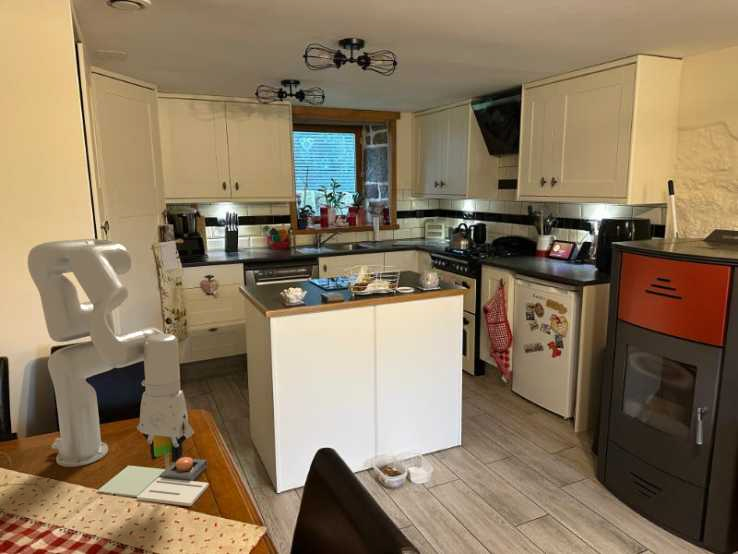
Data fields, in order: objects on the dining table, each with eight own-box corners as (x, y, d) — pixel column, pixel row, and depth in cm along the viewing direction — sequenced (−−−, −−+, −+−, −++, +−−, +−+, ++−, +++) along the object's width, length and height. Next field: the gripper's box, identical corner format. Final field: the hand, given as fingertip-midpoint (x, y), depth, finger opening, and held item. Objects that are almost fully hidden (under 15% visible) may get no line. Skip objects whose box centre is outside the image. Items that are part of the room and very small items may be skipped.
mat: (97, 493, 125) (96, 490, 125) (128, 467, 137) (128, 465, 136) (137, 497, 123) (137, 495, 123) (166, 471, 134) (165, 469, 134)
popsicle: (157, 479, 122) (153, 420, 119) (154, 476, 123) (151, 417, 121) (180, 472, 125) (177, 414, 122) (178, 468, 126) (175, 412, 124)
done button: (173, 471, 132) (172, 464, 131) (181, 463, 136) (181, 456, 135) (187, 472, 131) (187, 465, 131) (195, 464, 135) (195, 457, 134)
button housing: (162, 480, 130) (161, 473, 130) (179, 464, 138) (179, 457, 138) (191, 483, 129) (190, 476, 128) (206, 467, 137) (206, 460, 136)
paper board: (137, 499, 122) (136, 496, 122) (158, 480, 130) (158, 477, 130) (190, 506, 119) (190, 502, 119) (208, 485, 128) (208, 482, 128)
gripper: (120, 389, 118) (125, 462, 121) (187, 396, 115) (190, 470, 118) (140, 377, 125) (144, 446, 129) (204, 384, 122) (206, 454, 125)
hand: (166, 457), depth 123 cm, fingers closed on popsicle, 4 cm apart
